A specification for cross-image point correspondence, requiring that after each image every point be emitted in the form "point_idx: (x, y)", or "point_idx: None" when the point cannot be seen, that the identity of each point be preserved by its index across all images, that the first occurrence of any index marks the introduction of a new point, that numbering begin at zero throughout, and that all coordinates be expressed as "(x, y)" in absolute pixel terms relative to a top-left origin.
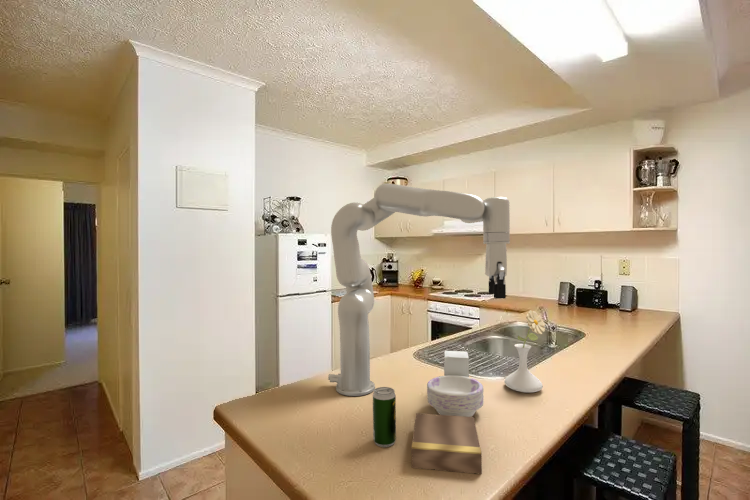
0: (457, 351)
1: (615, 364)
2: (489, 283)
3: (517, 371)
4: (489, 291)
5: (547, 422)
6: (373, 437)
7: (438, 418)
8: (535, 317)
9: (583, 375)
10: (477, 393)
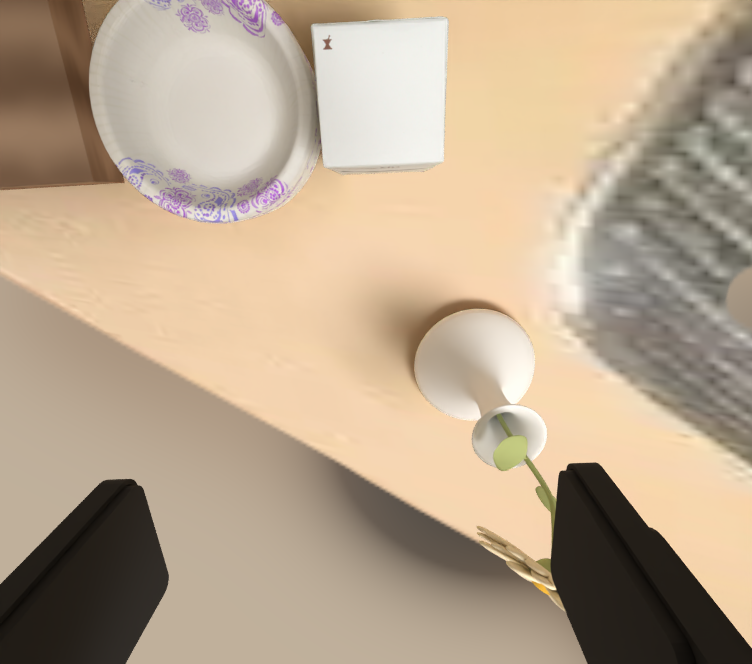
0: (434, 103)
1: None
2: (656, 616)
3: (476, 365)
4: (574, 487)
5: (252, 377)
6: None
7: (34, 59)
8: None
9: None
10: (147, 198)
